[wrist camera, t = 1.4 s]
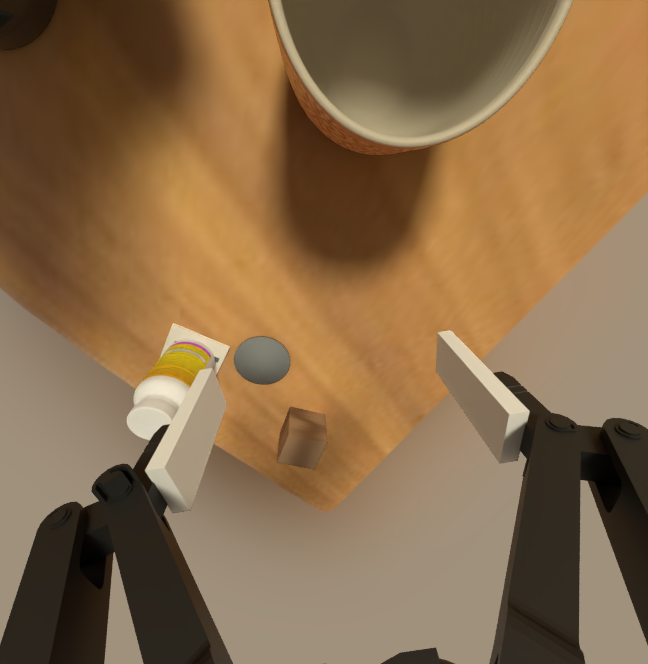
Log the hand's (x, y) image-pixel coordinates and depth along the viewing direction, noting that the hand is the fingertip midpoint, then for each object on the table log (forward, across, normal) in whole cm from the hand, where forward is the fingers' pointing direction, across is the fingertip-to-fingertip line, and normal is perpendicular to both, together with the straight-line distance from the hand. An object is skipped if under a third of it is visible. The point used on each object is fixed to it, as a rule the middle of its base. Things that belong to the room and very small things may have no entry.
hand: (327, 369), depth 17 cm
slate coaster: (+22, -10, -12) cm, 27 cm away
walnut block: (+23, -6, -26) cm, 35 cm away
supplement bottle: (+22, -19, -10) cm, 31 cm away
